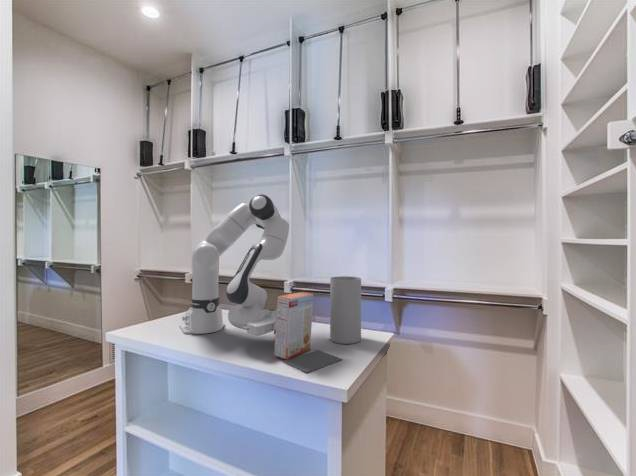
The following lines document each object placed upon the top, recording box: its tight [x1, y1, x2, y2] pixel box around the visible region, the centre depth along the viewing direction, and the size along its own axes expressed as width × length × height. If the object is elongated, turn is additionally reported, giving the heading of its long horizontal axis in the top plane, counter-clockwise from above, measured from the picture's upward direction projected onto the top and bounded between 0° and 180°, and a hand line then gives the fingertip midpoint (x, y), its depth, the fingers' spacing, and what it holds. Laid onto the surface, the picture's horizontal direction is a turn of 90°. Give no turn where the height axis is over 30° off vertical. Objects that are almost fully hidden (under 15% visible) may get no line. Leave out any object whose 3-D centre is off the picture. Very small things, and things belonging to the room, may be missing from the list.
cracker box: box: [273, 291, 314, 361], centre depth 115 cm, size 14×6×21 cm, turn 145°
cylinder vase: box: [329, 275, 362, 345], centre depth 132 cm, size 12×12×25 cm
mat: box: [282, 349, 343, 374], centre depth 109 cm, size 12×16×1 cm
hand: (287, 327), depth 117 cm, fingers closed
